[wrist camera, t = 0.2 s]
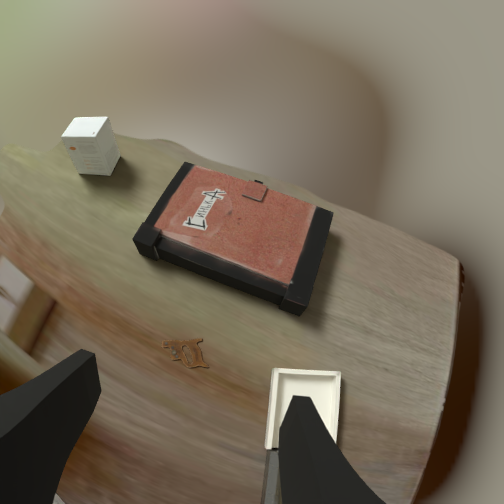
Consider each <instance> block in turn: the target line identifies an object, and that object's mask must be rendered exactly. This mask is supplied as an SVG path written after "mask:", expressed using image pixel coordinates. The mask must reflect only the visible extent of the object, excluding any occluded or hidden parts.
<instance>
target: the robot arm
mask: <svg viewBox="0 0 504 504" xmlns="http://www.w3.org/2000/svg"><path fill="white" fill-rule="evenodd" d="M100 394H101V386H100V381H99V375H98V369H97V363H96V357H95V353H92V352H89V351H86V350H83V349H80V350H79V351H77V352H75V353H74V354H72V355H71V356H69V357H68V358H66V359H65V360H63V361H61V362H60V363H58V364H57V365H55V366H54V367H52V368H50V369H49V370H47V371H46V372H44V373H42V374H41V375H39V376H37V377H36V378H34V379H32V380H30V381H28V382H27V383H25V384H23V385H21V386H19V387H17V388H15V389H13V390H11V391H9V392H7V393H5V394H2V395H0V504H53V501H54V497H55V494H56V490H57V487H58V484H59V481H60V478H61V475H62V472H63V469H64V467H65V464H66V461H67V459H68V457H69V455H70V453H71V451H72V449H73V447H74V446H75V444H76V442H77V440H78V438H79V437H80V435H81V433H82V431H83V430H84V428H85V426H86V424H87V422H88V421H89V419H90V417H91V415H92V413H93V411H94V409H95V406H96V404H97V401H98V399H99V396H100ZM278 459H279V472H280V484H281V496H282V504H386V503H385V502H384V501H382V500H381V499H380V498H379V497H378V496H377V495H376V494H375V493H374V492H373V491H372V490H371V489H370V488H369V487H368V486H367V485H366V483H365V482H364V481H363V480H362V479H361V478H360V477H359V475H358V474H357V473H356V472H355V470H354V469H353V468H352V466H351V465H350V464H349V462H348V461H347V459H346V458H345V457H344V455H343V454H342V452H341V451H340V449H339V448H338V446H337V444H336V443H335V441H334V440H333V438H332V436H331V435H330V433H329V431H328V429H327V428H326V426H325V424H324V422H323V420H322V419H321V417H320V415H319V413H318V411H317V409H316V407H315V405H314V403H313V401H312V399H311V398H310V397H308V396H297V395H293V396H292V399H291V401H290V404H289V406H288V409H287V411H286V414H285V416H284V419H283V421H282V423H281V426H280V428H279V442H278Z"/></svg>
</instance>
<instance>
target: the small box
mask: <svg viewBox="0 0 504 504" xmlns="http://www.w3.org/2000/svg"><path fill="white" fill-rule="evenodd" d="M61 138H62V140H63V143H64V145H65V147H66V149H67V151H68V153H69V155H70V157H71V159H72V161H73V164H74V166H75V168H76V170H77V172H78V173H79V174H94V175H108V176H111V174H112V172H113V170H114V168H115V166H116V164H117V162H118V160H119V158H120V156H121V155H120V152H119V149H118V146H117V143H116V140H115V137H114V133H113V130H112V127H111V124H110V121H109V118H108V117H81V118H80V117H79V118H74V120H73V121H72V122H71V124H70V125H69V126H68V128H67V129H66V130H65V132H64V133H63V135H62V136H61Z"/></svg>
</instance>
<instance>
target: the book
mask: <svg viewBox="0 0 504 504" xmlns="http://www.w3.org/2000/svg"><path fill="white" fill-rule="evenodd" d="M332 217H333V212H331V211H328V210H325V209H323V208H320V207H318V206H315V205H312V204H310V203H307V202H304V201H301V200H299V199H296V198H293V197H290V196H288V195H285V194H282V193H279V192H276V191H274V190H271V189H268V188H267V186H265V185H263V182H260V181H257V180H255V181H254V182H253V181H250V180H249V181H248V182H247V181H244V180H241V179H238V178H235V177H232V176H229V175H226V174H223V173H220V172H217V171H214V170H210V169H207V168H204V167H201V166H197V165H194V164H191V163H188V162H184V163H183V165H182V166H181V168H180V169H179V171H178V172H177V173H176V175H175V176H174V178H173V179H172V181H171V182H170V184H169V185H168V187H167V188H166V190H165V191H164V193H163V194H162V196H161V197H160V199H159V200H158V202H157V203H156V205H155V206H154V208H153V210H152V211H151V213H150V214H149V216H148V217H147V219H146V221H145V222H143V223H142V224H141V226H140V227H139V229H138V231H137V232H136V234H135V236H134V237H133V241H134V243H135V245H136V247H137V249H138V251H139V253H140V254H142V255H144V256H147V257H149V258H152V259H154V260H156V261H157V260H158V258H160V259H163V260H165V261H168V262H170V263H172V264H175V265H177V266H180V267H182V268H185V269H187V270H190V271H192V272H195V273H197V274H200V275H202V276H205V277H207V278H210V279H212V280H215V281H217V282H220V283H223V284H225V285H228V286H230V287H233V288H235V289H238V290H241V291H243V292H246V293H249V294H251V295H254V296H257V297H259V298H262V299H265V300H267V301H270V302H273V303H275V304H278V305H280V306H279V309H281V310H284V311H287V312H289V313H292V314H295V315H298V316H300V315H301V314H302V313H303V311H304V310H305V309H306V308H307V307H308V303H309V300H310V297H311V294H312V290H313V285H314V282H315V278H316V275H317V272H318V268H319V265H320V261H321V258H322V254H323V251H324V247H325V243H326V240H327V236H328V232H329V229H330V225H331V221H332Z"/></svg>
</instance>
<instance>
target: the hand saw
mask: <svg viewBox="0 0 504 504" xmlns="http://www.w3.org/2000/svg"><path fill="white" fill-rule="evenodd" d="M200 341H203V339H202V338H197V339H193V340H189V341H185V340H184V341H179V340H166V341H162V347H168V348H170V349H171V359H172V360H177V359H181V360H182V361H183V363H184V364H185V365H186V366H187V367H188V368H192V367H197V366H202V367H205V368H209V365H207V364H206V363H205V362H204V361H203V358H202V351H201V349H200V348H199V346H198V345H197V343H198V342H200ZM183 346H187V347H188V349H189V351H190V353H191V356H192V363H188V361H187V358H186V355H185V353H184V352H183V349H182V348H183Z"/></svg>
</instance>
